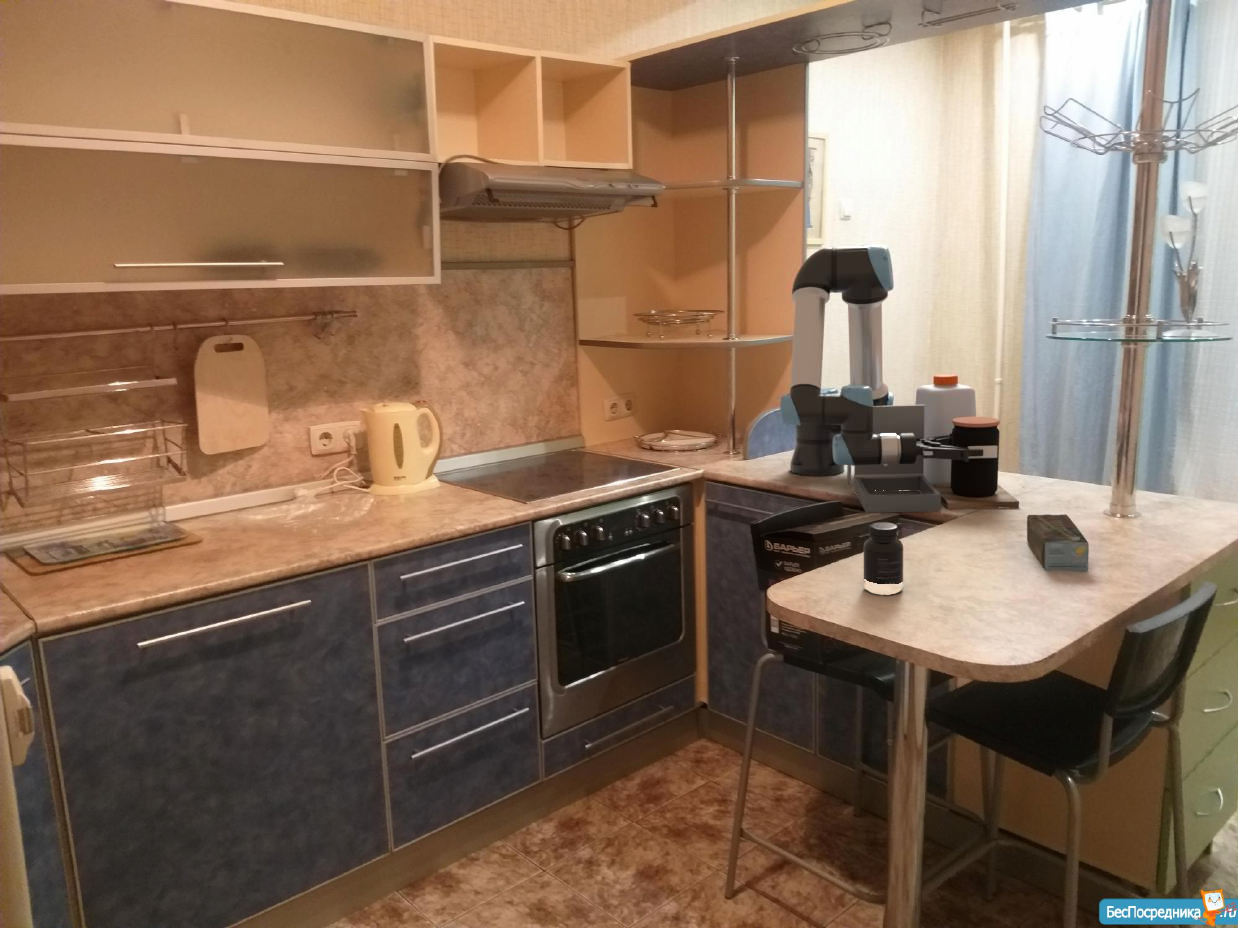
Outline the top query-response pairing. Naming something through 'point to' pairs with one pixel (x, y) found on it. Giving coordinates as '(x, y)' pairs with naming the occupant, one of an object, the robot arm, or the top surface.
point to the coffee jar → (977, 472)
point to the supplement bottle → (883, 554)
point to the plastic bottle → (943, 418)
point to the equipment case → (896, 468)
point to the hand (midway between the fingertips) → (989, 446)
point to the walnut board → (976, 499)
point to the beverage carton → (1057, 543)
